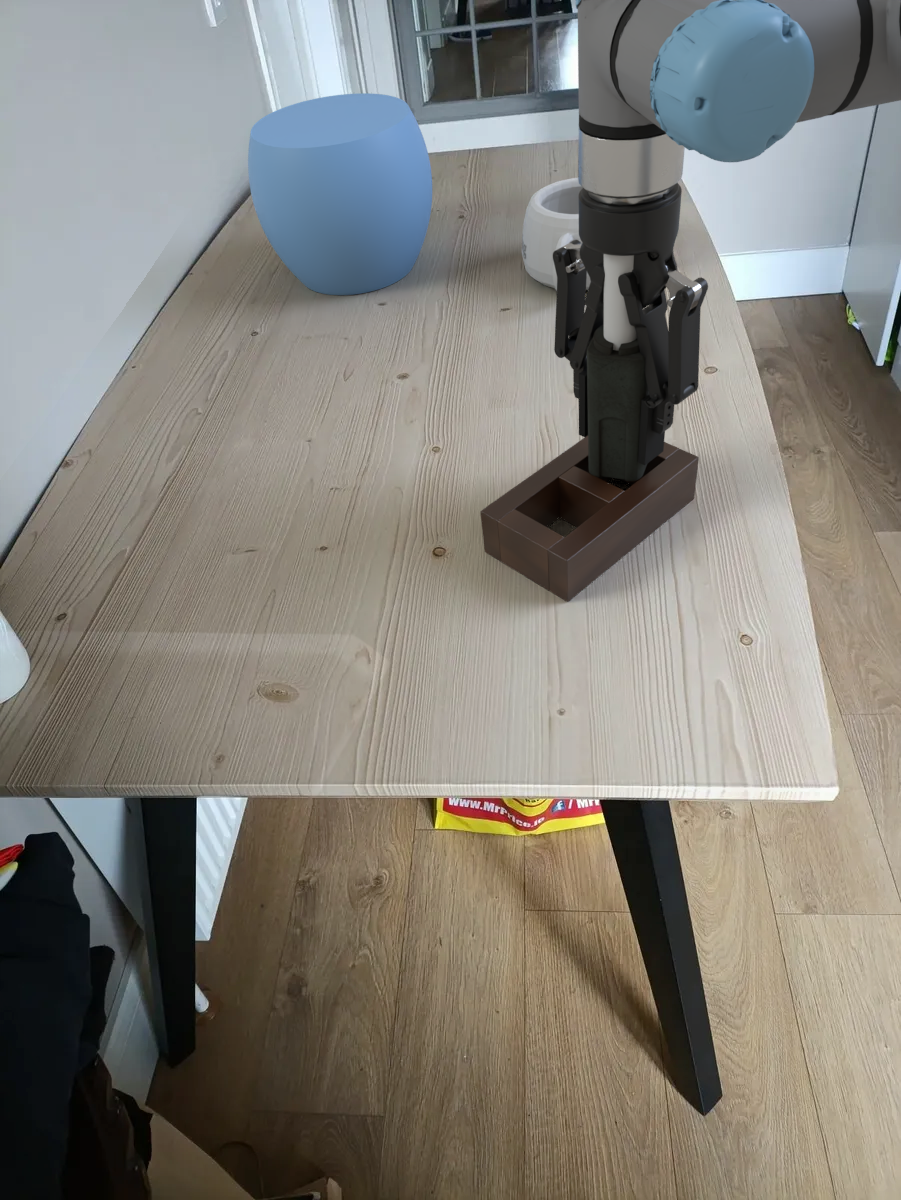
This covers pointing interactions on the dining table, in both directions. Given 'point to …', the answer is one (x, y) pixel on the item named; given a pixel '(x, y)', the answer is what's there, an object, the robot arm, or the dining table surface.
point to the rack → (583, 517)
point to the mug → (550, 228)
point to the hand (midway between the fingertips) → (620, 442)
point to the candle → (615, 384)
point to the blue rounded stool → (342, 190)
